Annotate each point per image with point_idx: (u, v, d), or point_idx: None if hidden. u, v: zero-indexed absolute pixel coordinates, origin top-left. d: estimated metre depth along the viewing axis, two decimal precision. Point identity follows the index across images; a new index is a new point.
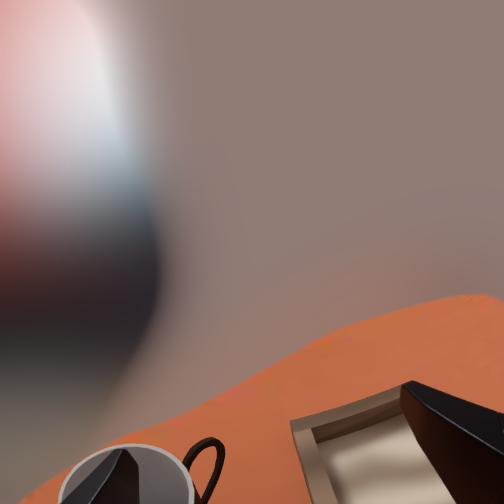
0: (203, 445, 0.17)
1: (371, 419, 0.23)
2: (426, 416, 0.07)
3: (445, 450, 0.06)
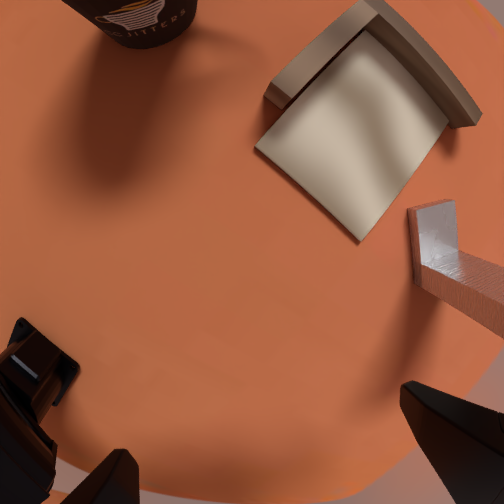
0: None
1: (424, 78, 0.17)
2: (426, 416, 0.07)
3: (445, 450, 0.06)
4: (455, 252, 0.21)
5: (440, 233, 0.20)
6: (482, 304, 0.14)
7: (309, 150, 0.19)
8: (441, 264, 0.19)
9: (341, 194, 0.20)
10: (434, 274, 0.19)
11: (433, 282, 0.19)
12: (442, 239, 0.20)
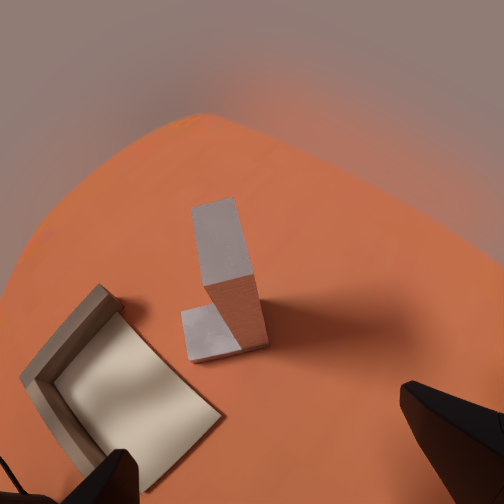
0: None
1: (80, 340, 0.23)
2: (426, 416, 0.07)
3: (445, 450, 0.06)
4: None
5: (212, 327, 0.23)
6: (236, 318, 0.16)
7: (144, 454, 0.19)
8: None
9: (178, 433, 0.20)
10: (243, 342, 0.20)
11: (253, 340, 0.20)
12: (218, 324, 0.23)
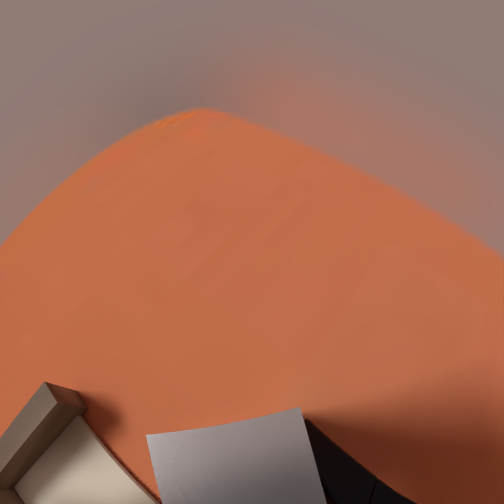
0: None
1: (34, 451, 0.12)
2: None
3: None
4: None
5: None
6: None
7: None
8: None
9: None
10: None
11: None
12: None
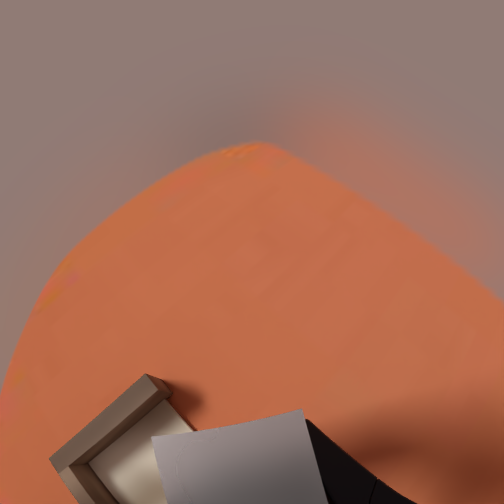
0: None
1: (122, 430, 0.19)
2: None
3: None
4: None
5: None
6: None
7: None
8: None
9: None
10: None
11: None
12: None
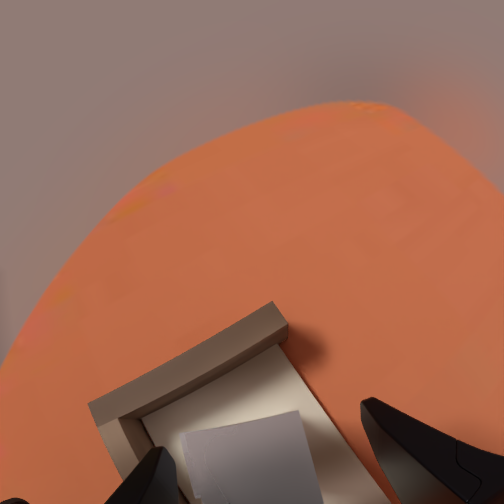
0: None
1: (212, 377, 0.16)
2: (382, 436, 0.06)
3: (400, 473, 0.06)
4: None
5: None
6: None
7: None
8: None
9: None
10: None
11: None
12: None
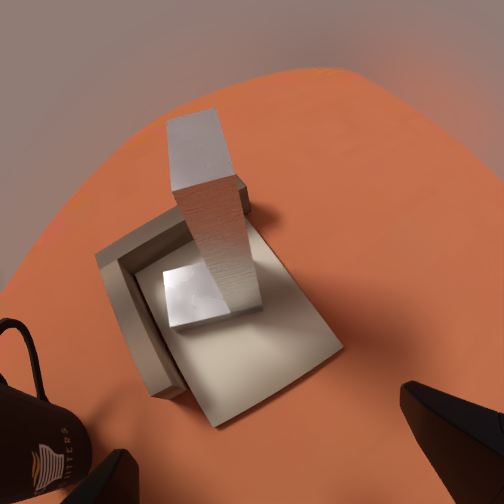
0: None
1: None
2: (426, 416, 0.07)
3: (445, 450, 0.06)
4: None
5: (197, 288, 0.20)
6: (219, 256, 0.13)
7: (234, 378, 0.18)
8: None
9: (288, 358, 0.18)
10: (231, 301, 0.18)
11: (243, 299, 0.18)
12: (204, 284, 0.20)
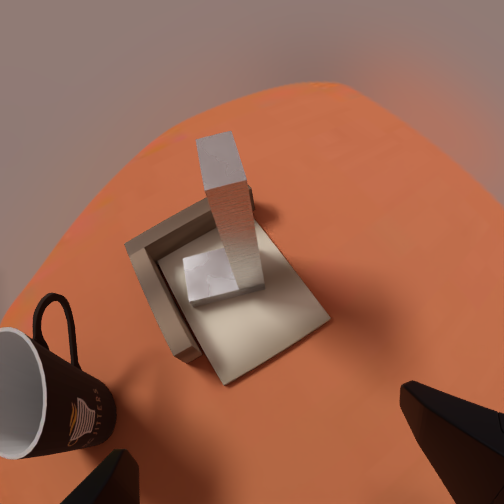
0: (42, 306, 0.17)
1: (206, 225, 0.27)
2: (426, 416, 0.07)
3: (445, 450, 0.06)
4: None
5: (211, 271, 0.25)
6: (233, 238, 0.18)
7: (241, 343, 0.23)
8: None
9: (285, 327, 0.23)
10: (240, 278, 0.22)
11: (249, 277, 0.23)
12: (217, 267, 0.25)
